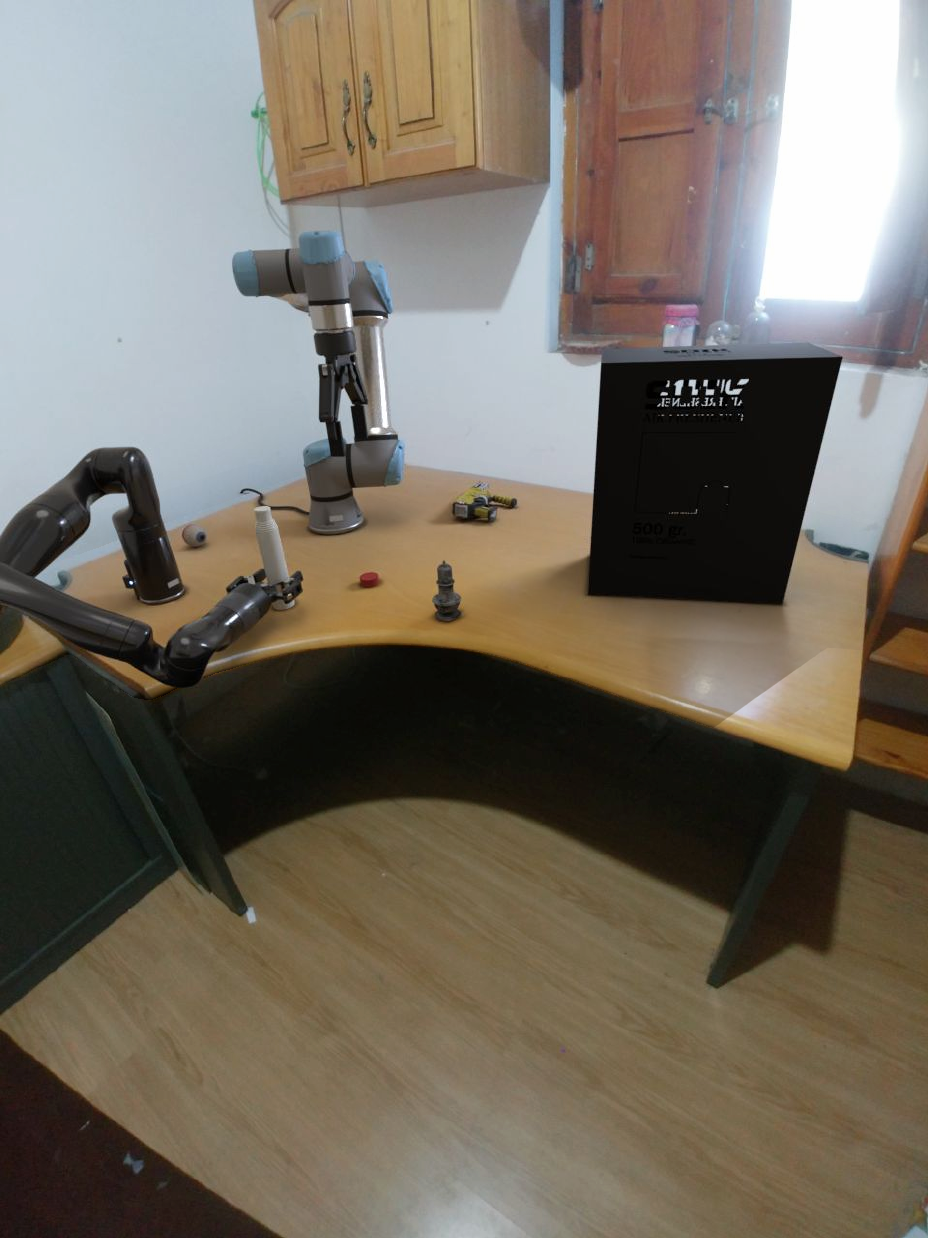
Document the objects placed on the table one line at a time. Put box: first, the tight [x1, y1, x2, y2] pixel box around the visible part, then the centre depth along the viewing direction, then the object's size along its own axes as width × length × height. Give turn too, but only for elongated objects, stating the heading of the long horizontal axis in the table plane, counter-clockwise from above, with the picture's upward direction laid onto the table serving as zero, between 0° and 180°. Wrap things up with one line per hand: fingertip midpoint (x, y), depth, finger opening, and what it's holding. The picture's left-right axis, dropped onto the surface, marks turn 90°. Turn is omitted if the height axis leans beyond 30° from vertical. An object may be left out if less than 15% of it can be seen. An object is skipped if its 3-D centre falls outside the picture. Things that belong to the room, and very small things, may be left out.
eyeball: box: [181, 523, 208, 548], centre depth 159 cm, size 6×6×6 cm
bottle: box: [253, 505, 296, 611], centre depth 124 cm, size 4×4×22 cm
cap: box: [359, 571, 380, 588], centre depth 136 cm, size 4×4×2 cm
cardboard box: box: [587, 342, 844, 605], centre depth 120 cm, size 38×20×45 cm, turn 78°
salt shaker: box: [431, 560, 462, 622], centre depth 119 cm, size 6×6×12 cm
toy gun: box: [451, 480, 518, 523], centre depth 174 cm, size 5×24×15 cm
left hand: (282, 573), depth 128 cm, fingers open, 8 cm apart
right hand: (350, 446), depth 121 cm, fingers open, 13 cm apart
